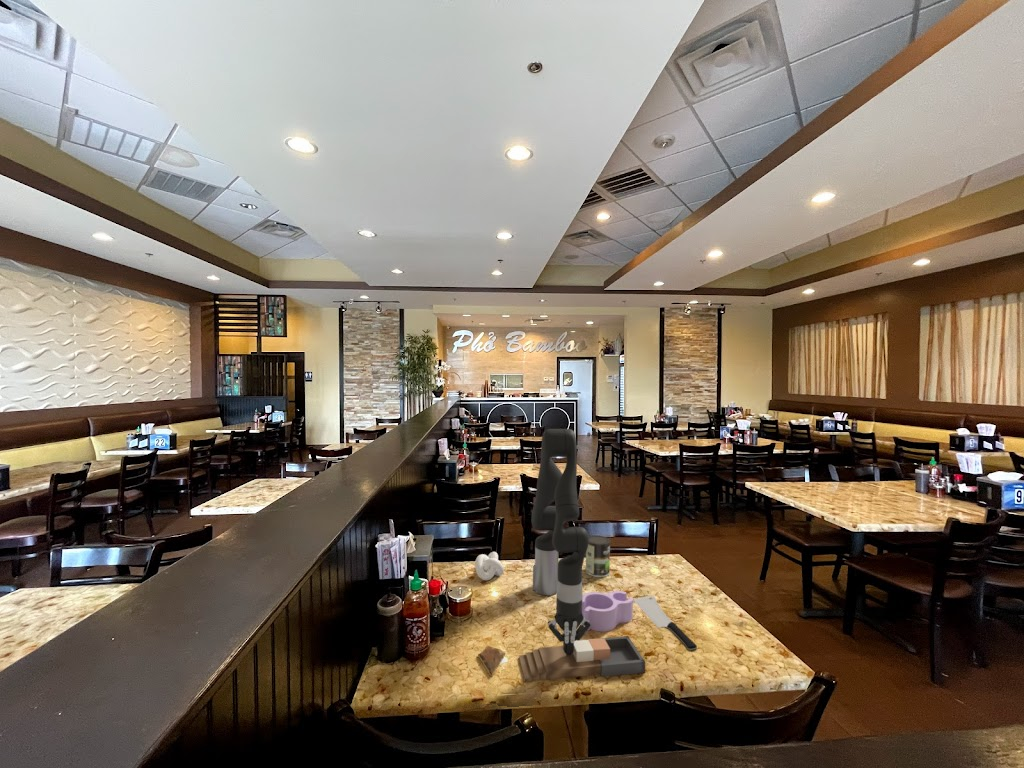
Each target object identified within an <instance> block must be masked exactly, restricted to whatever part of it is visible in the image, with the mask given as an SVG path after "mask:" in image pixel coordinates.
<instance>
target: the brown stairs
mask: <svg viewBox="0 0 1024 768" xmlns="http://www.w3.org/2000/svg"><path fill="white" fill-rule="evenodd" d="M518 658H519V664H520V666H521V671H522V675H523V679H524V682H533V681H535V682H536V681H545V680H547V679H546V670H545V667H544V664H543V661H542V658H541V655H540V652H539V648H537V649H532V651H530V652H529V651H528V652H525V654H521V655H518Z"/></svg>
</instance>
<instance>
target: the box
mask: <svg viewBox="0 0 1024 768" xmlns="http://www.w3.org/2000/svg"><path fill="white" fill-rule="evenodd" d="M601 638H602V637H600V638H598V639H601ZM603 638H604V639H605V641H606V642H607V644H608V646H609V648H610V659H602V660H598V661H599V663H600V665H601V674H600V676H601V678H602V677H614V676H622V675H634V674H644V673H645V674H646V660H645V659H644V657H643V656H642V654H641V653H640V651H639V649H638V648H637V647H636V645H635V644H634V642H633V641H632V639H631V638H630V637H629V636H628V635H625V636H623V635H622V636H614V637H612V636H611V637H603Z"/></svg>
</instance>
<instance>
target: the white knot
mask: <svg viewBox="0 0 1024 768" xmlns="http://www.w3.org/2000/svg"><path fill="white" fill-rule="evenodd" d="M474 568H475V573H476V575H477V576H478V577H479V579H480V580H483V581H490V580H492V578H493V577H494V576H498V577H500V576H502V575H503V574H504V570H505V568H504V565H503V563H502V562H501V561H500V560H499V554H498V553H497V552H496V551H492V552H491V551H490V553H489V554H488V555H487V554H485V553H484V554H483V553H482V554H479V555H478V556H477V557H476V559H475V561H474Z"/></svg>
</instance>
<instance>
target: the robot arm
mask: <svg viewBox="0 0 1024 768" xmlns="http://www.w3.org/2000/svg"><path fill="white" fill-rule="evenodd" d="M576 438H577V437H576V434H575V431H574V430H573V429H571V428H547V429H545V430H544V431H543V434H542V438H541V448H540V449H541V451H540V452H541V453H540V464H539V471H538V476H537V482H536V489H535V490H536V492H535V500H534V503H533V507H532V511H531V525H532V528H533V529H534V530H536V531H547V532H545V533H543V534H541V535H539V536H537V537H536V539H535V542H534V543H535V544H534V564H533V565H532V591H535V592H536V593H537V594H540V595H544V596H552V595H556V605H555V607H556V608H555V612H556V613H555V614H554V618H553V619H552V620H548V621H547V626H548V628H549V630H550V631H551V632H552V634H553V635H554V636H555V638H556V640H558V641H559V642H560V643H561V642H562V646H563V650H564V652H565V653H566V655H572V653H573V651H574V641H579V640H581V639H582V638H583V636H584V635H585V634H586V633H587V632H588V631H589V630H588V628H589V627H590V623H589V621H588V619H585V618H584V617H583V615H582V596H583V590H584V589H583V582H582V581H583V567H584V566H583V565H584V561H585V559H586V551H587V548H588V544H589V533H588V531H587V530H586V529H585V527H582V526H564V525H565V523H568V522H571V521H575V520H577V519H578V518H579V517H580V507H579V500H578V489H577V472H578V471H577V469H578V468H577V467H578V466H577V463H578V462H577V461H578V460H577V456H578V455H577V453H578V452H577V439H576ZM552 457H553V458H554V457H559V458H560V457H563V458H566V464H565V467H564V470H563V473H562V471H561V470H560V468H559V467H558V465H557V464H556V463H555V462H554V460H553V458H552ZM553 502H554V503H555V505H551V504H552V503H553ZM559 553H561V554H568V553H572V554H570V555H569V556H565V557H562V558H561V559H559ZM558 626H559V628H560V629H561V631H562V634H561V632H560V631H559V630H558ZM587 630H588V631H587Z"/></svg>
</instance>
